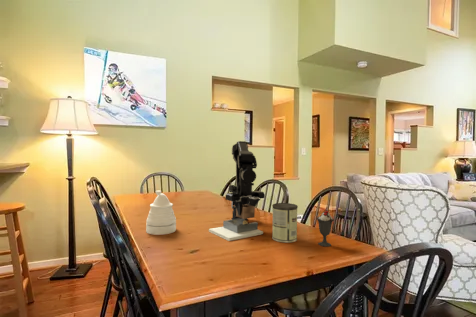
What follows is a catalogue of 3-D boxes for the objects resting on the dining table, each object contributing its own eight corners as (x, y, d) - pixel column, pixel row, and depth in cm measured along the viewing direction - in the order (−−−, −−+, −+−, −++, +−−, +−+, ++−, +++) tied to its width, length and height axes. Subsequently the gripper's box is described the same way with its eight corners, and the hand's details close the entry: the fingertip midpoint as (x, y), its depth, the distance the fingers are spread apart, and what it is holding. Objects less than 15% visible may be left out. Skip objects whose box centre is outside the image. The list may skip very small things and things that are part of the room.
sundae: (324, 248, 104) (325, 208, 104) (312, 243, 110) (313, 205, 110) (337, 246, 107) (338, 207, 107) (324, 241, 113) (325, 204, 113)
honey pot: (160, 236, 116) (160, 193, 115) (139, 231, 122) (140, 190, 122) (181, 229, 127) (182, 190, 126) (162, 225, 133) (162, 188, 133)
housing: (242, 224, 133) (243, 217, 133) (257, 229, 124) (257, 222, 124) (223, 227, 127) (223, 220, 126) (237, 233, 118) (237, 226, 118)
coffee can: (276, 234, 122) (276, 202, 122) (299, 237, 118) (300, 204, 117) (268, 240, 113) (269, 205, 112) (293, 244, 108) (294, 208, 108)
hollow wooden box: (246, 214, 131) (246, 204, 131) (254, 217, 126) (254, 206, 126) (236, 216, 128) (236, 205, 128) (243, 218, 123) (244, 207, 123)
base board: (241, 226, 134) (241, 217, 134) (262, 234, 122) (263, 224, 121) (208, 231, 124) (208, 222, 124) (228, 241, 111) (229, 230, 111)
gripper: (250, 178, 139) (250, 209, 139) (219, 179, 128) (218, 213, 128) (265, 180, 130) (265, 213, 130) (232, 182, 119) (232, 218, 119)
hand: (245, 214), depth 127 cm, fingers closed on hollow wooden box, 6 cm apart
